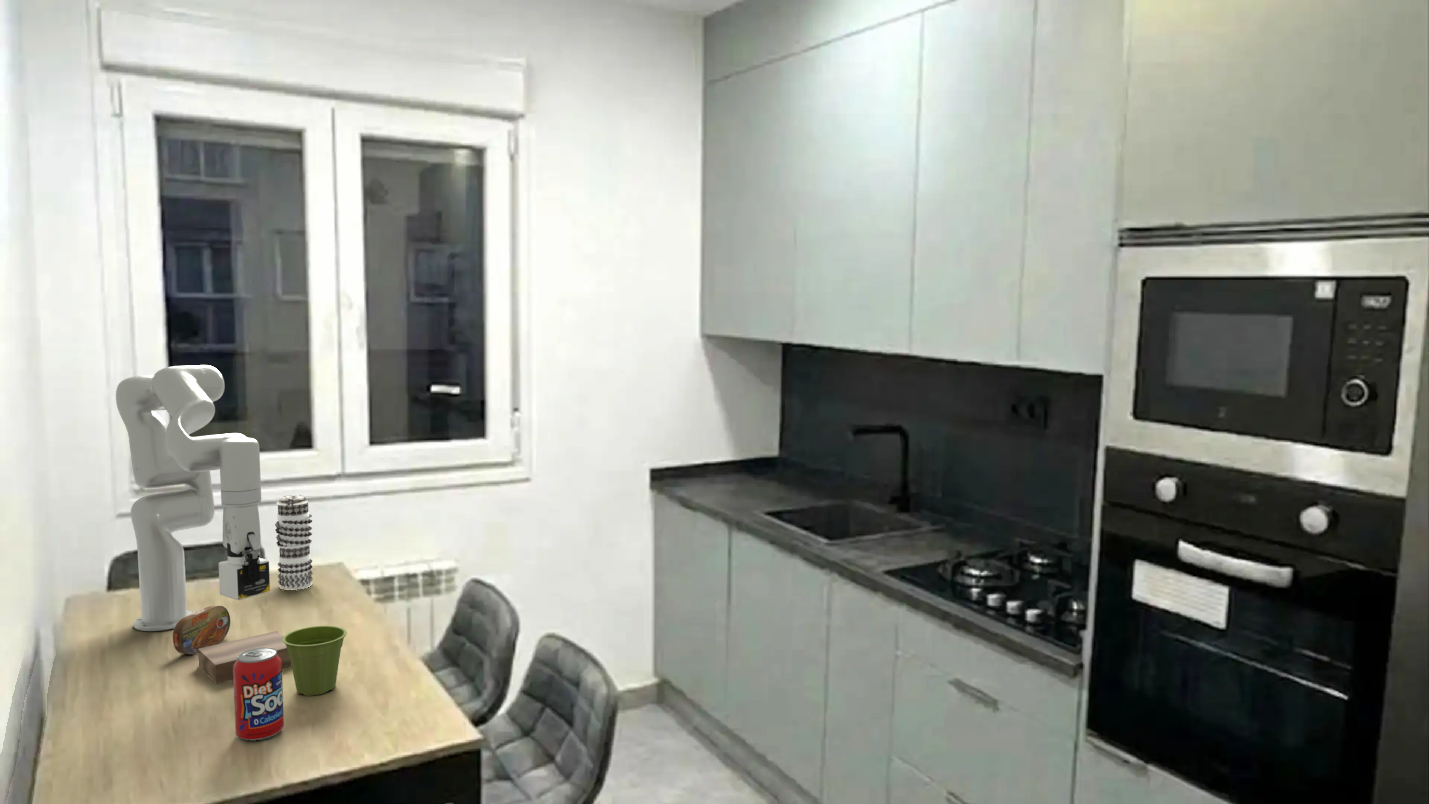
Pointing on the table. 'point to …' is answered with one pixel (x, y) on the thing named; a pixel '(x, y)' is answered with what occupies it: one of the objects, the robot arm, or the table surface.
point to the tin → (201, 629)
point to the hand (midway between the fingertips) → (244, 577)
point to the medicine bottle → (241, 577)
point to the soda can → (258, 694)
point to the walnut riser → (224, 655)
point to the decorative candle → (294, 542)
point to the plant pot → (315, 657)
